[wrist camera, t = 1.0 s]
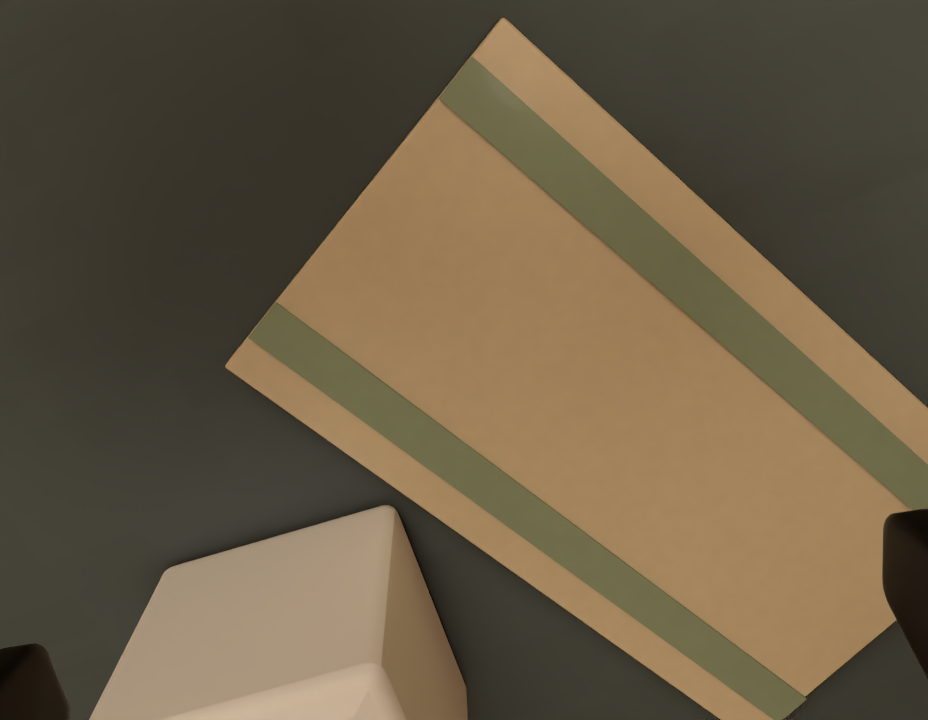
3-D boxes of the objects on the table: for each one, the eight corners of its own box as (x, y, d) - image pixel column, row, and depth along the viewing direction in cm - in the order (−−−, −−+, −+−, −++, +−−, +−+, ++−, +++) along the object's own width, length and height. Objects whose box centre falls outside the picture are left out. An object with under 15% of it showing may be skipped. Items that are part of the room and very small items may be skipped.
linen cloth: (1020, 495, 25) (1036, 507, 24) (745, 728, 28) (752, 745, 27) (501, 17, 20) (504, 16, 19) (229, 359, 23) (222, 369, 22)
